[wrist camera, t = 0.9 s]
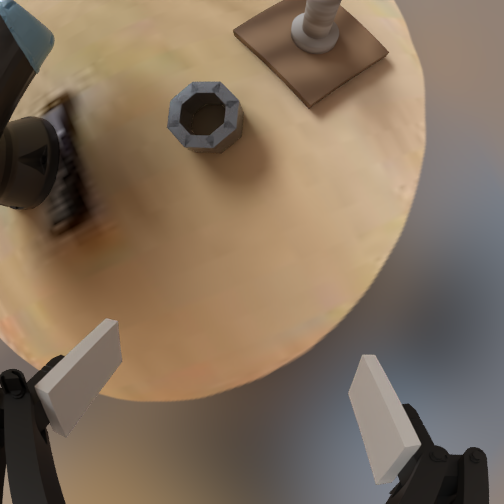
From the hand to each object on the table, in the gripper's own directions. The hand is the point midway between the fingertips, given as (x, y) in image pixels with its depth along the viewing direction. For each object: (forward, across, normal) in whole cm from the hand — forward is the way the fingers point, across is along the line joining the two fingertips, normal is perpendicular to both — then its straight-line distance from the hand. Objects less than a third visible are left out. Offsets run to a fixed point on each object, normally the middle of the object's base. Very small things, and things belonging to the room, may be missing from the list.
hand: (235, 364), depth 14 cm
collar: (+22, -7, +16) cm, 28 cm away
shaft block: (+22, +4, +29) cm, 36 cm away
